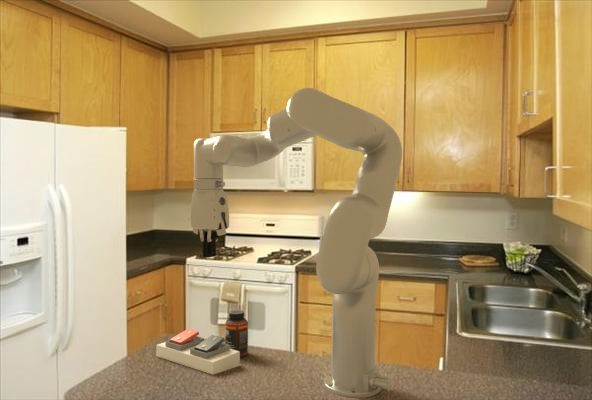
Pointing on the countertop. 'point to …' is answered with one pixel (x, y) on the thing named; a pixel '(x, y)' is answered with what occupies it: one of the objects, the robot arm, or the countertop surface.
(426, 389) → the countertop surface
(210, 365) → the rocker switch panel
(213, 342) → the black rocker
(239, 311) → the supplement bottle
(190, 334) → the red rocker
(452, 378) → the countertop surface
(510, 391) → the countertop surface
